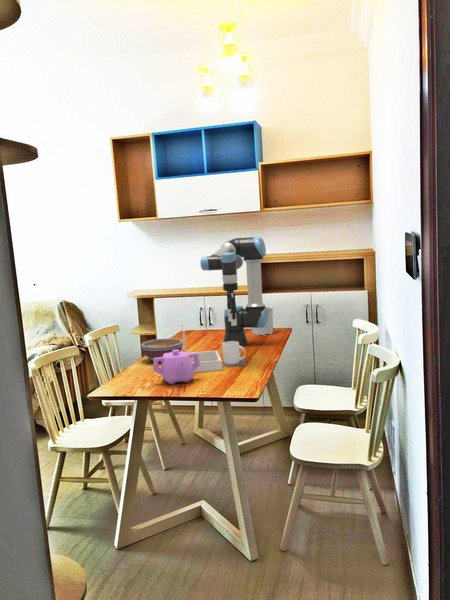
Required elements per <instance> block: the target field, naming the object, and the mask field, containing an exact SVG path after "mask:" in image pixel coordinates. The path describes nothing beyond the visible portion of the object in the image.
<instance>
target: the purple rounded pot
mask: <svg viewBox="0 0 450 600" xmlns="http://www.w3.org/2000/svg"><path fill="white" fill-rule="evenodd" d="M188 353H189V352H187V351H186V352H184V350H183V351H182V350H181V351H180V352H179V350H172V352H169V353H165V354H163V357H158V358H154V361H153V368H152V370H153V372H155V373H158V374H159V375H161V377H162V379H163V380H164V381H165V382H166V383H168V385H169V384H173V385H176V383H179V382H183V383H184V382H188V383H190V381H191V380H193V378H194V373H195V372H193V371H194V370H195V369H196V368H197V367H199V366H200V362H201V361H199V358H198V354H197V353H192V352H191V353H192V354H188ZM191 357H194V363H193V364H192V362H191V360H190V358H191ZM159 361H162V362H161V365H160V367H159Z"/></svg>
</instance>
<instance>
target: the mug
mask: <svg viewBox="0 0 450 600" xmlns="http://www.w3.org/2000/svg"><path fill="white" fill-rule="evenodd" d="M240 350H242V351H244V353H246V350H245V348H244V346H240V345H239V342H237V341H228V342H224V343H223V342H222V356H223V357H222V359H223V361H224V363H225V364H228V365H232V364H238V363H239V362H240V360H245V357H246V354H244V355H243V356H240ZM223 361H222V362H223ZM224 363H223V364H224Z"/></svg>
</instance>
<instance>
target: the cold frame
mask: <svg viewBox="0 0 450 600" xmlns="http://www.w3.org/2000/svg"><path fill="white" fill-rule="evenodd" d="M181 329H182V342H183V345H182V346H183V351H184V352H186V353H188V354H192V353H197V354H198V358H199V362H200V366H199V367H197V368H196V369H195V370H194V371H193V372H194V373H205V372H217V371H223V361H222V358H221V356H220V353H219V351H218V350H207V351H193V352H187V345H186V344H187V343H186V329H185V325H184V323H181ZM190 360H191V362H192V364H193V363H194V357H191V358H190Z"/></svg>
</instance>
